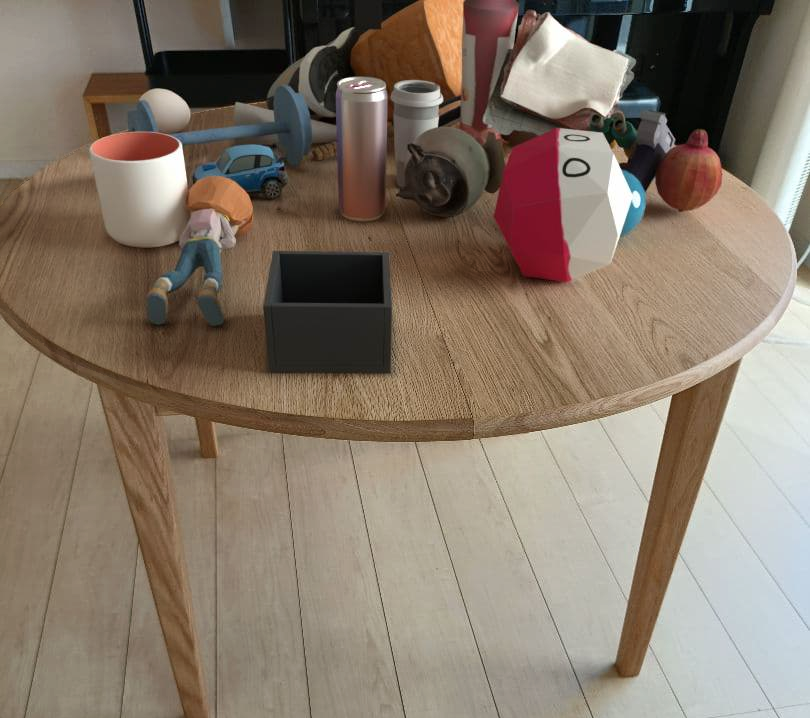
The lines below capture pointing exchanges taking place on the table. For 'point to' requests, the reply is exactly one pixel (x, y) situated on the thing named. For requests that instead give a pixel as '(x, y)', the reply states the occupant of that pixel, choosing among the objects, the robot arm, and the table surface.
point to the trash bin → (328, 312)
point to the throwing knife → (444, 121)
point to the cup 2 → (413, 116)
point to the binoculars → (616, 133)
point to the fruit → (689, 174)
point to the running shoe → (320, 74)
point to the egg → (167, 110)
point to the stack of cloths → (555, 80)
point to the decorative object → (562, 204)
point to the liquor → (483, 58)
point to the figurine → (204, 245)
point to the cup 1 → (141, 187)
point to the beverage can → (361, 147)
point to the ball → (633, 204)
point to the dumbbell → (287, 125)
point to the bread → (415, 48)
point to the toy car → (250, 168)
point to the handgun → (650, 147)
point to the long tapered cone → (255, 115)
